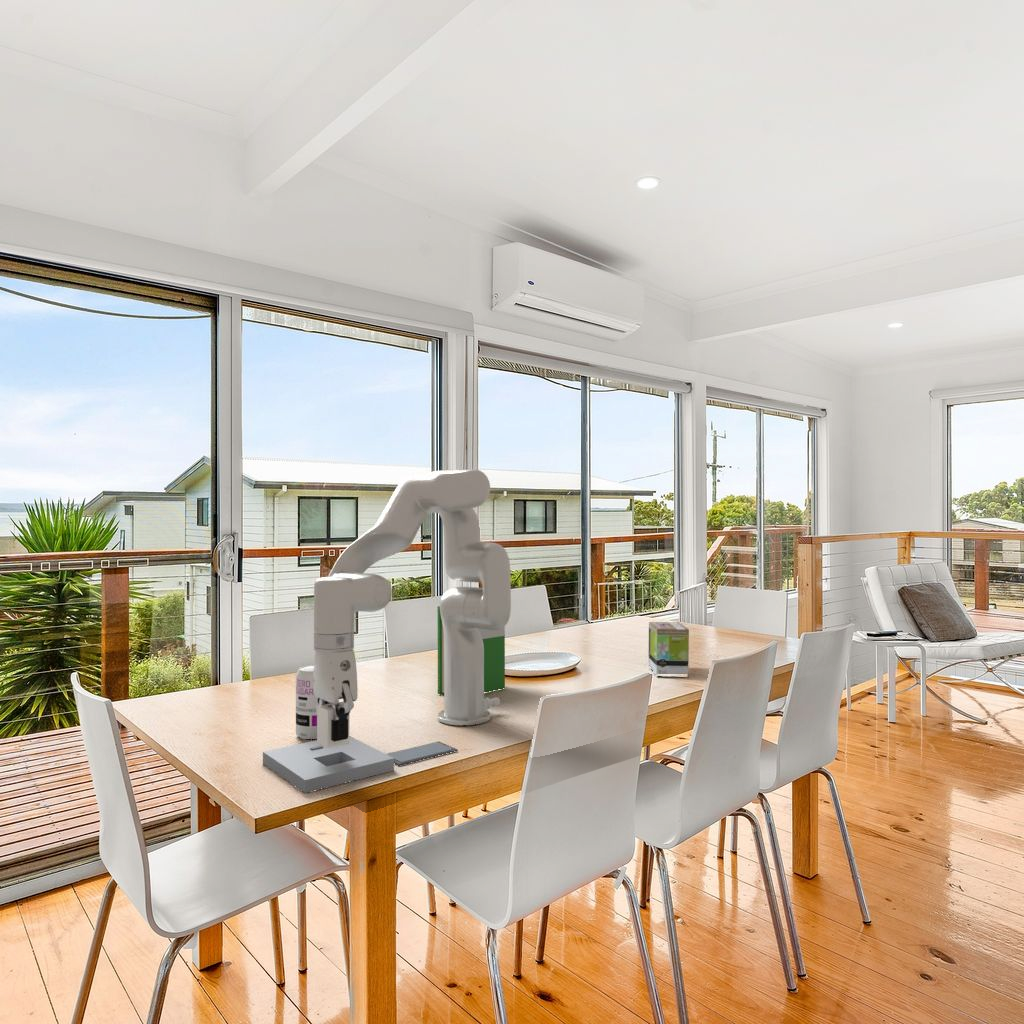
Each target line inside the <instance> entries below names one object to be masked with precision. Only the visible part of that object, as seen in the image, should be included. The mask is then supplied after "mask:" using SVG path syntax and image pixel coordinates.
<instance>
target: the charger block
mask: <svg viewBox="0 0 1024 1024" xmlns="http://www.w3.org/2000/svg"><path fill="white" fill-rule="evenodd" d="M341 707H343V705H341V706H338V711H339V709H340V708H341ZM331 720H334V718H333V708H332V703H331V704H325V705H319V706H317V743H319V744H321V745H323V746H325V747H327V748H330V747H335V746H339V745H344V744H349V736H350V717H349V718H348V738H347V739H344V740H340V741H335V742H334V741H332V740H331Z"/></svg>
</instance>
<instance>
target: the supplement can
mask: <svg viewBox="0 0 1024 1024" xmlns="http://www.w3.org/2000/svg"><path fill="white" fill-rule="evenodd" d="M317 701H318V699H317V697H316V695H315V694H314V664H311V665H310V664H309V665H308V664H307V665H302V666H300V667H299V668H298V671H297V672H296V674H295V734H296V736H297V737H298V738H299V737H300V738H299V739H301V738H302V739H301V740H305V739H311V740H310V741H313V740H312V739H317V706H319V704H318V702H317Z"/></svg>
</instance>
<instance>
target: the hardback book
mask: <svg viewBox="0 0 1024 1024" xmlns="http://www.w3.org/2000/svg"><path fill="white" fill-rule="evenodd" d="M505 628H506V625H505V626H504V627H503V628H501V629H498V630H490V629H480V628H477V629H478V631H479V633H480V635H481V637H482V640H483V644H484V692H489V691H493V690H498V689H503V688H505V689H506V685H505V684H506V670H505V669H506V639H505V637H506V635H505V634H506V631H505V630H506V629H505ZM438 694H444V632H443V625H442V620H441V615H440V605H439V606H437V695H438Z"/></svg>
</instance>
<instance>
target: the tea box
mask: <svg viewBox="0 0 1024 1024" xmlns="http://www.w3.org/2000/svg"><path fill="white" fill-rule="evenodd" d="M689 651H690V629H689V628H688V627H686V626H685V625H683V624H682V623H680V622H678V621H677V622H676V621H649V622H648V659H647V660H648V667H649V666H650V667H651V669H652V670H653V671H654V672H655V673H656V675H657V674H688V675H689V659H690V658H689ZM651 669H650V670H651ZM652 670H651V671H652ZM656 675H655V676H656Z"/></svg>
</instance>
